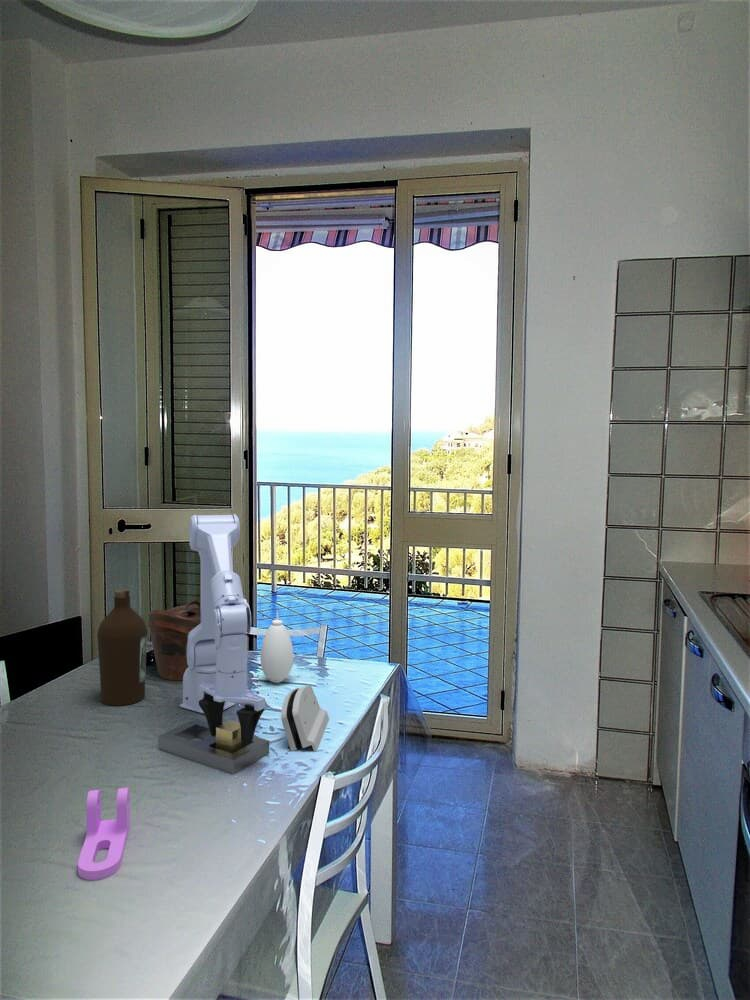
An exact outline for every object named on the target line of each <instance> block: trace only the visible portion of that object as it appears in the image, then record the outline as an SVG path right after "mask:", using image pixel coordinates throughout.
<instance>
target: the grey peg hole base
mask: <svg viewBox="0 0 750 1000" xmlns="http://www.w3.org/2000/svg"><path fill="white" fill-rule="evenodd" d="M196 737H197V738H200V740H198V741H194V740H192V739H194V738H196ZM157 748H158V750H161V751H164V752H166V753H170V754H173V755H175V756H179V757H181V758H185V759H187V760H190V761H193V762H196V763H199V764H202V765H205V766H208V767H211V768H213V769H216V770H220V771H223V772H225V773H226V772H227V773H229V774H232V775H235V774H236V773H238V772H240V771H241V770H243V769H245V768H247V767H248V766H250V765H252V764H254V763H255V762H257V761H258V760H260V759H262V758H264V757H265V756H267V755H269V754H270V740H268V739H265V738H262V737H259V736H255V735H254V736H253V740H252V743H250V744H248V745H247V746H246V747H244V748H242V749H240V750H239V751H237V752H235V753H233V754H232V753H229V752H226V751H222V750H219V749H216V736H214V737H213V736H211V733H210V729H209V725H208V722H207V721H205V720H201V719H198V718H194V719H192V720H190V721H188V722H186V723H184V724H182V725H179V726H177V727H175V728H172V729H171V730H169V731H168V730H167V732H164V733H162V734H160V735H157Z"/></svg>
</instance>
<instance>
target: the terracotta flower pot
mask: <svg viewBox="0 0 750 1000" xmlns="http://www.w3.org/2000/svg"><path fill="white" fill-rule="evenodd" d="M147 616H148V617H147V618H148V621H147V623H148V624H147V627H148V628H149V629H148V630H149V631H148V632H149V635H150V639H151V643H152V649H153V652H154V657H155V663H156V669H157V673H158V675H159V676H160V678H162V679H165V680H171V681H183V676H184V673H185V671H186V669H187V668H188V667H189V666H188V664H187V642H188V635H189V632H190V631H191V630H193V629H194V628H195V627H197V626H198V625H199V624H200V623H201V600H194V601H191V602H190V603H186V604H184V605H179V606H175V607H172V608H169V609H164V610H161V609H159V610H157V609H156V610H155V609H154V610H150V611H149V612H148V615H147Z"/></svg>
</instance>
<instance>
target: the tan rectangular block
mask: <svg viewBox="0 0 750 1000" xmlns="http://www.w3.org/2000/svg"><path fill="white" fill-rule="evenodd" d="M244 747H246V746H242V743H241V727H240V722H238V721H235V720H232V719H230V720H227V721H226V722H224V723H222V725H220V726H217V727H216V749H219V750H222V751H226V752H229V753H232V754H233V753H235V752H237V751H239V750H240V749H242V748H244Z"/></svg>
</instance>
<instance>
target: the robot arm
mask: <svg viewBox="0 0 750 1000" xmlns="http://www.w3.org/2000/svg"><path fill="white" fill-rule="evenodd" d="M240 527H241V526H240V519H239V516H237V514H236V513H232V514H205V515H204V514H203V515H201V514H200V515H199V514H198V515H196V514H192V516H190V518H189V529H188V531H189V532H188V533H189V546H190V550H192V551H195V552H197V553H198V555H199V558H200V602H201V623H200V624H199V625H198V626H197V627H195V628H194V629H193V630H191V631H190V632H189V635H188V642H187V664H188V666H189V667H188V668H187V669H186V671H185V673H184V676H183V680H182V703H181V704H180V705H179V707H180V708H183V709H186V710H190V711H194V712H198V713H199V714H203V715H204V717H205V719H206V722H208V725H209V729H210V733H211V736H213V737H214V736H216V727H217V726H220V725H222V724H223V714H224V711H225V710H226V709H229V708H230V707H233V706H235V705H236V704H238V705H241V706H244V707H243V708H241V709H239V710H237V711H236V715H237V719H238V721H239V723H240V727H241V743H242V746H247V745H248V744H250V743H252V740H253V736H255V735H254V734H255V731H256V728H257V725H258V723H259V721H260V718H261V717H262V715H263V713H264V711H265V709H266V697H264V696H260V695H259V694H257V693H256V692H253V691H252V690H250V689H249V688H248V635H250V634H251V630H252V612H251V608H250V604H249V603H248V601H247V599H246V598H245V597H244V593H243V588H242V587H243V585H242V580H241V577H240V575H239V574H238V573H236V572H234V567H233V554H232V553H233V552H232V550H233V548H235V547H236V546H237V543H238V541H239V540H240V535H241V534H240V533H241V531H240V530H241V528H240Z"/></svg>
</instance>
